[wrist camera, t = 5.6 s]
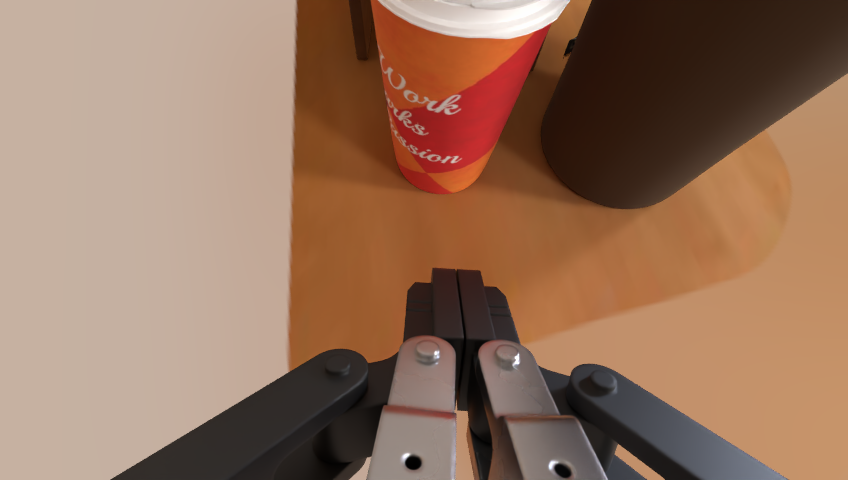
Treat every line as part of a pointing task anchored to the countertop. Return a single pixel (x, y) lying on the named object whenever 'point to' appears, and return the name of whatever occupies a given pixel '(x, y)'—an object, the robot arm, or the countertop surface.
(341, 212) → the countertop surface
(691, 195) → the countertop surface
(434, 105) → the paper cup
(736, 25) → the brown bottle
